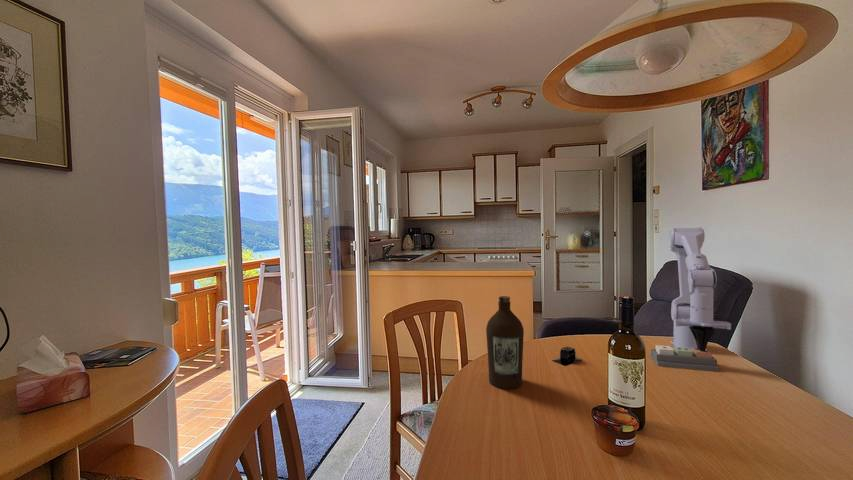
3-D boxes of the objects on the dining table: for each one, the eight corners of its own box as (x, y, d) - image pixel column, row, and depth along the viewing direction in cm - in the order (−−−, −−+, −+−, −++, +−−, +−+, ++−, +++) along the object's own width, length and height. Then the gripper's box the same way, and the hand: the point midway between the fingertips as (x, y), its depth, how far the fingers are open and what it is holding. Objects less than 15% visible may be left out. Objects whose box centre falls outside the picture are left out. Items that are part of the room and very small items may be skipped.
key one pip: (655, 351, 115) (655, 344, 115) (669, 352, 114) (669, 345, 114) (659, 355, 111) (659, 348, 111) (674, 356, 110) (674, 349, 110)
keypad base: (650, 356, 117) (650, 347, 117) (706, 361, 112) (706, 352, 112) (657, 365, 110) (658, 355, 110) (718, 371, 105) (718, 361, 104)
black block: (564, 369, 109) (564, 355, 109) (546, 362, 116) (546, 348, 116) (588, 361, 116) (589, 348, 115) (570, 354, 122) (570, 342, 122)
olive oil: (486, 373, 106) (485, 293, 105) (521, 375, 105) (521, 293, 104) (487, 389, 96) (486, 300, 95) (526, 391, 94) (525, 301, 93)
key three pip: (691, 353, 112) (691, 347, 112) (705, 355, 111) (705, 348, 110) (696, 358, 108) (696, 351, 108) (711, 359, 107) (711, 352, 107)
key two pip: (673, 352, 113) (673, 346, 113) (687, 353, 112) (687, 347, 112) (677, 356, 110) (677, 350, 109) (692, 358, 108) (692, 351, 108)
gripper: (679, 308, 107) (679, 351, 108) (736, 311, 103) (736, 356, 103) (671, 304, 114) (671, 344, 114) (724, 306, 109) (724, 348, 110)
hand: (701, 349), depth 109 cm, fingers closed
